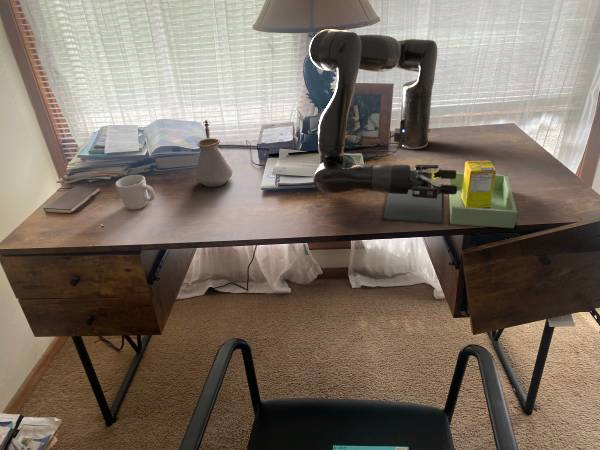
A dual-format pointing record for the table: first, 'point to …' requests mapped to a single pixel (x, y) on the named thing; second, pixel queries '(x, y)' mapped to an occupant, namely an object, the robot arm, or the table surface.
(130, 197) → the cup
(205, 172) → the coffee pot
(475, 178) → the supplement box
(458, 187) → the desk tray
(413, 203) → the grey mat
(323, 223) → the table surface
